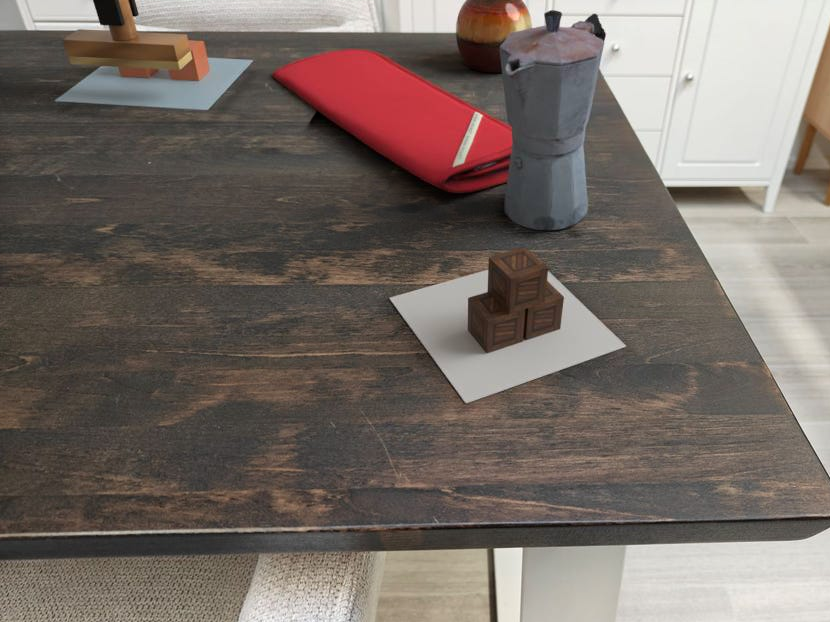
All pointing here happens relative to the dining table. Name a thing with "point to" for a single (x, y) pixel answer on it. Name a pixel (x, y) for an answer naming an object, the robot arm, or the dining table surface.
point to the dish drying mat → (404, 118)
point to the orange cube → (136, 72)
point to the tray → (157, 87)
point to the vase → (488, 30)
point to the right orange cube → (193, 64)
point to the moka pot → (549, 119)
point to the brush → (128, 46)
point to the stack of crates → (504, 325)
